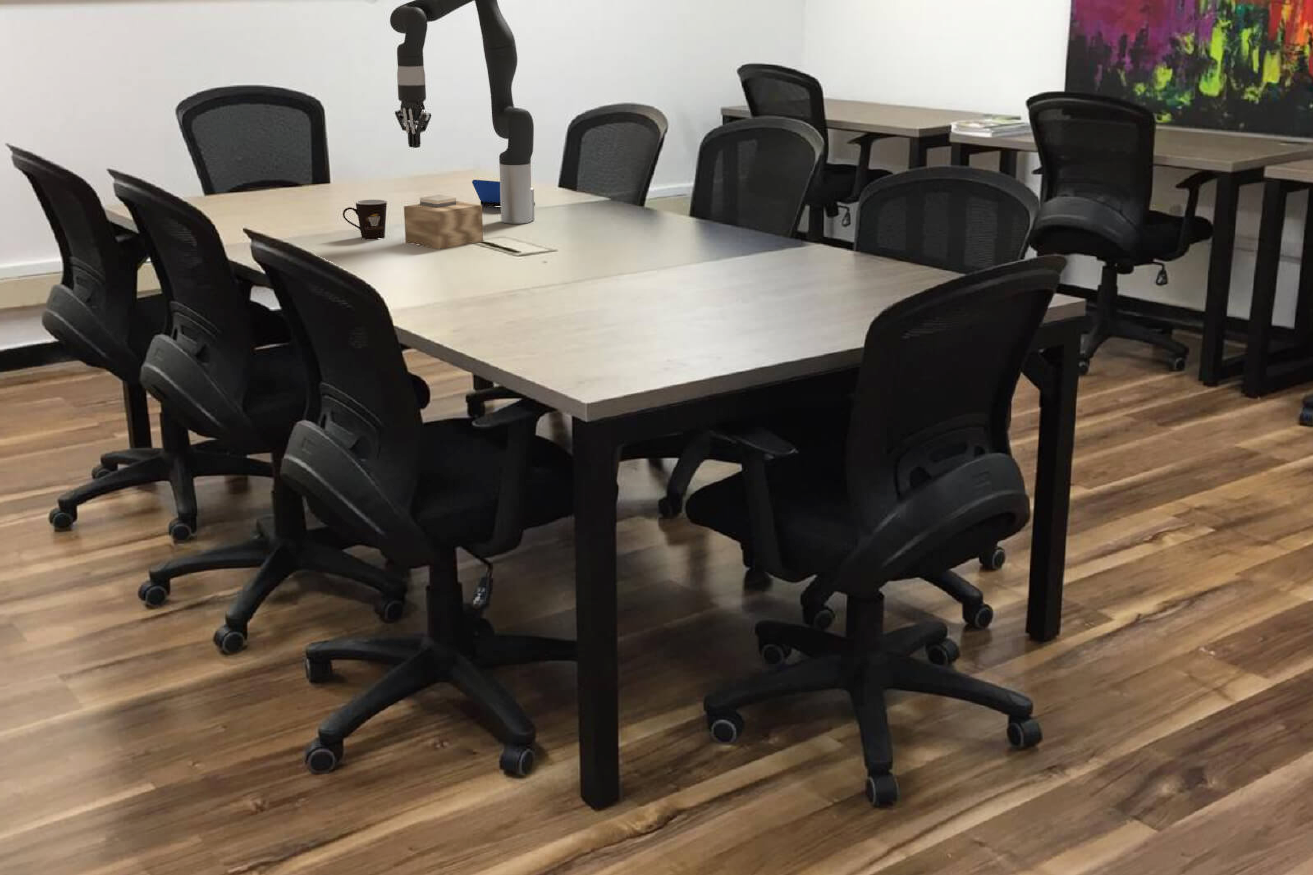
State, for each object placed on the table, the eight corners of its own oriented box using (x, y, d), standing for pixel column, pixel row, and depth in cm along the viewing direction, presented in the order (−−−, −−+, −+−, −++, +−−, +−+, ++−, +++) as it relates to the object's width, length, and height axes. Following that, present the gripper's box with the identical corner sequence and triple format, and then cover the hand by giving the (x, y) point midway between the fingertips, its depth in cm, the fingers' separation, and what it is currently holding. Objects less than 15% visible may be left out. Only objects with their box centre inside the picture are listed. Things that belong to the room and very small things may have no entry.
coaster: (439, 202, 414) (439, 194, 413) (456, 204, 410) (456, 197, 409) (420, 205, 409) (419, 197, 408) (436, 207, 405) (436, 200, 404)
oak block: (449, 234, 421) (448, 199, 418) (483, 240, 413) (481, 204, 409) (405, 242, 410) (403, 206, 407) (439, 248, 401) (437, 212, 398)
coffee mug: (392, 235, 421) (390, 199, 418) (384, 240, 413) (382, 204, 410) (352, 234, 422) (350, 199, 419) (343, 239, 414) (340, 203, 411)
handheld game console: (537, 207, 470) (536, 177, 468) (511, 212, 460) (510, 182, 457) (497, 202, 478) (496, 173, 475) (471, 208, 467) (470, 178, 465)
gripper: (438, 83, 404) (441, 148, 409) (406, 80, 412) (409, 144, 417) (416, 85, 398) (419, 150, 404) (384, 82, 407) (388, 146, 412)
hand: (414, 147), depth 410 cm, fingers closed
